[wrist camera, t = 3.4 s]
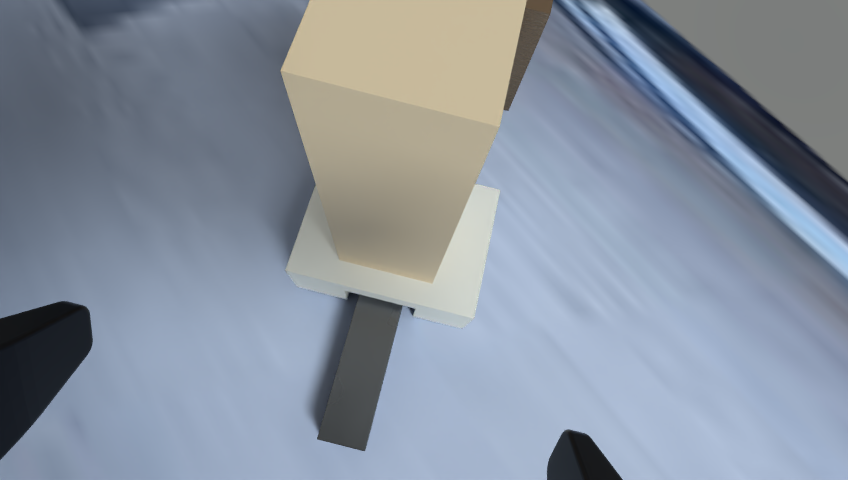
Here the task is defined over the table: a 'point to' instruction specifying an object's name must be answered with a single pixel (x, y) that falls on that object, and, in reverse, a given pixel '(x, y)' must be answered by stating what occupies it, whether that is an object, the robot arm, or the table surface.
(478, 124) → the cream block on base
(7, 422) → the robot arm
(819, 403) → the table surface
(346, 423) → the brown block with rod
